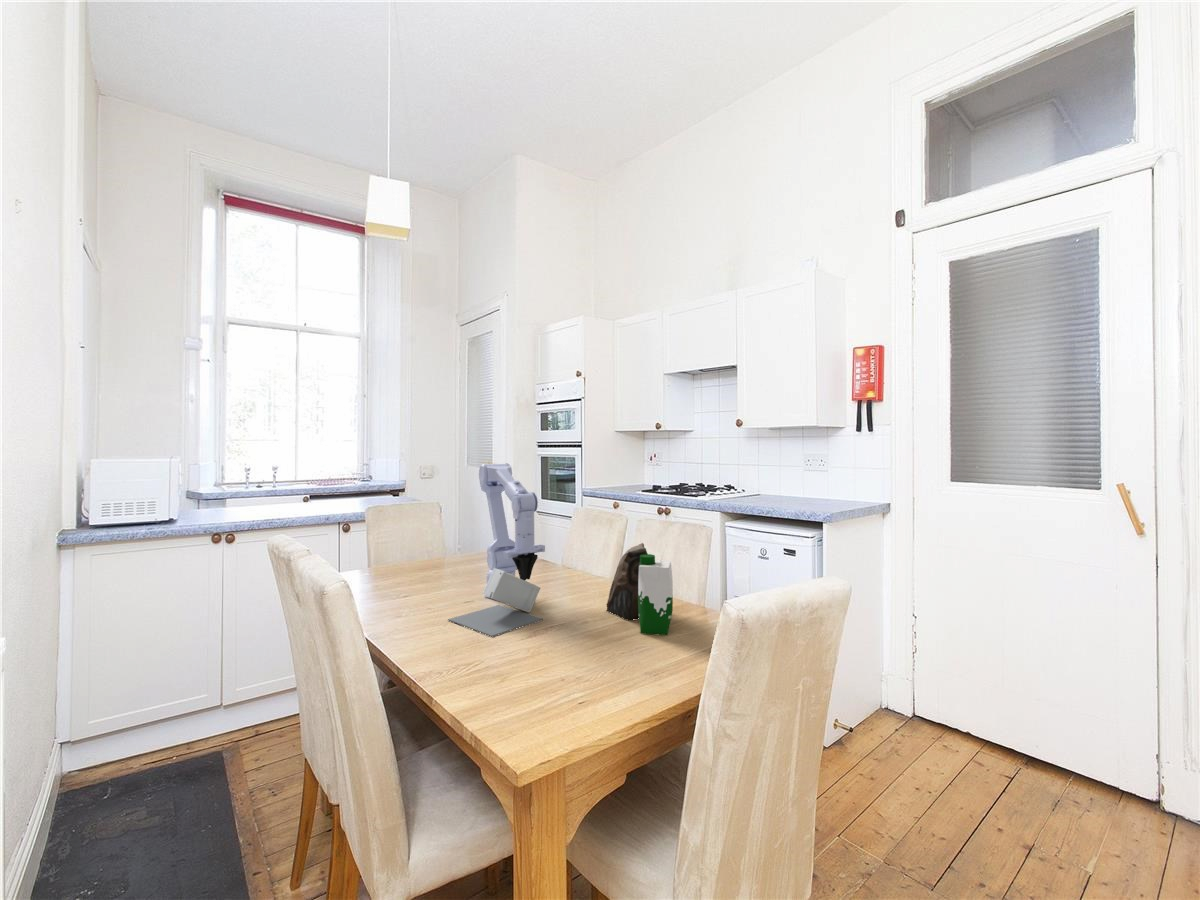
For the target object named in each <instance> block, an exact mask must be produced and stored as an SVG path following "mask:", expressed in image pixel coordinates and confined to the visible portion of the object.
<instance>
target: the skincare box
mask: <svg viewBox="0 0 1200 900" xmlns="http://www.w3.org/2000/svg"><path fill="white" fill-rule="evenodd" d="M540 590H541V587H540V586H538V585H536V584H533V583H532V582H530V581H527V580H522V579H520V577H518V576H516V575H515V576H513V575H511V574H509V573H506V572H504V571H502V570H499V569H496V568H494V569H493V571H492V574H491V576H490V578H489V580H488V582H487V581H486V585H485V587H484V589H483V591H482V594H483V595H484V596H485V595H486V596H488V597H490V598H489V599H491V598H492V599H491V600H493V601H497V602H499V603H502V604H505V605H508V606H510V607H513V608H514V609H516V608H517V609H518V610H520V611H522V612H523V611H524V612H525V613H528V614H530V613H531V611H532V608H533V606H534V603H535V602H536V600H537V598H538V595H539V593H540ZM488 597H487V598H488Z"/></svg>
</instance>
